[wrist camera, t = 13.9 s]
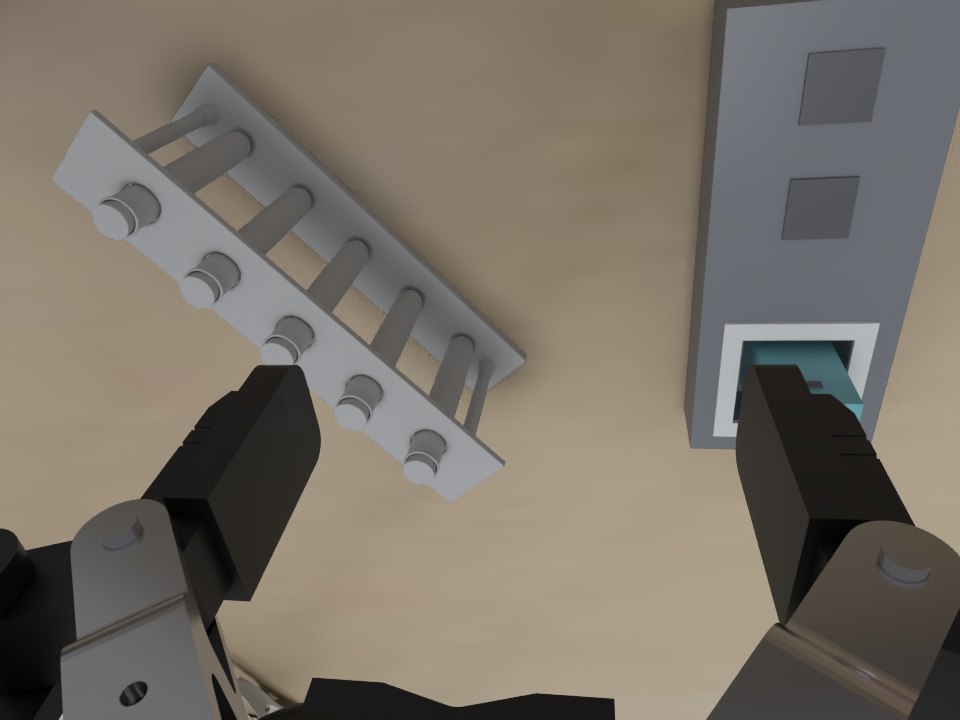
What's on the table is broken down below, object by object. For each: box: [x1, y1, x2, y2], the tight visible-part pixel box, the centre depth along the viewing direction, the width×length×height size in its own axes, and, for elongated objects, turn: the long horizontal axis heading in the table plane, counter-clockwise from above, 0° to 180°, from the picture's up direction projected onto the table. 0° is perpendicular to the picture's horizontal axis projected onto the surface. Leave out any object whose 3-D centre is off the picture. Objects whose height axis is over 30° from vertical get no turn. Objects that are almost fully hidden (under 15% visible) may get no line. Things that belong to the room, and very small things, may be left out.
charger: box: [740, 340, 864, 422], centre depth 37 cm, size 4×4×8 cm
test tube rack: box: [51, 63, 527, 503], centre depth 37 cm, size 25×4×13 cm, turn 46°
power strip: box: [684, 0, 960, 449], centre depth 36 cm, size 10×24×4 cm, turn 5°
